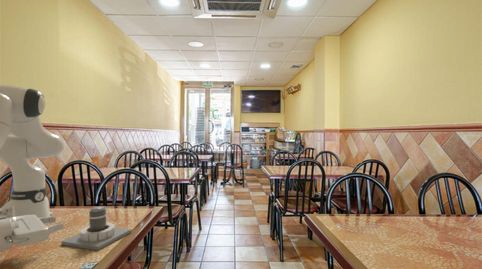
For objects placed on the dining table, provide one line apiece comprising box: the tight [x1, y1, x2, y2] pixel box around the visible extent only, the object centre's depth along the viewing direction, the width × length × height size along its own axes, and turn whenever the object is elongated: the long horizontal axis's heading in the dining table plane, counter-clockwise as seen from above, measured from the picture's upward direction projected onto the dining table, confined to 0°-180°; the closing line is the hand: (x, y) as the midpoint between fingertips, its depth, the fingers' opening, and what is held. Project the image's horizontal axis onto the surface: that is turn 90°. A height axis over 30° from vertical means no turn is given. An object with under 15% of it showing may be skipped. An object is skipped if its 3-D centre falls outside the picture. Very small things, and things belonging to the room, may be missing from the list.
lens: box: [88, 205, 107, 232], centre depth 95 cm, size 6×6×10 cm
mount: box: [61, 222, 132, 251], centre depth 95 cm, size 16×16×4 cm
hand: (58, 222), depth 86 cm, fingers open, 8 cm apart
